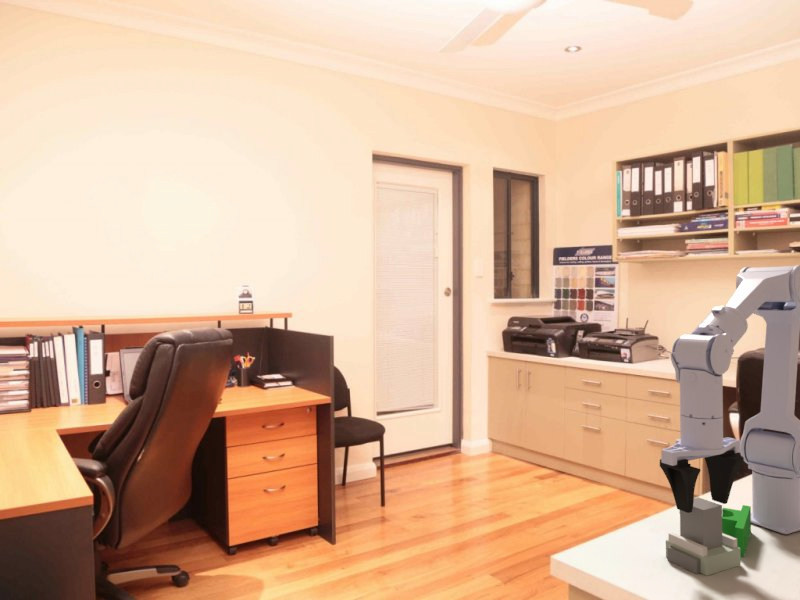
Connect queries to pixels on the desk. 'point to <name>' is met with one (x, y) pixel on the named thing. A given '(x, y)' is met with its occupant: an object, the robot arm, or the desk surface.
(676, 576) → the desk surface
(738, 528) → the pipe clamp
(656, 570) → the desk surface
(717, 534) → the dark grey block
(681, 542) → the pale grey-green blocky piece
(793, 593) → the desk surface
